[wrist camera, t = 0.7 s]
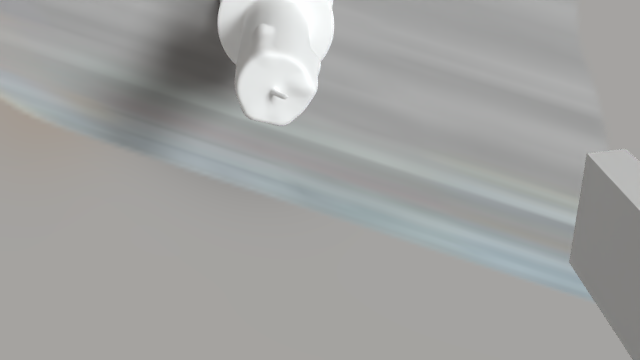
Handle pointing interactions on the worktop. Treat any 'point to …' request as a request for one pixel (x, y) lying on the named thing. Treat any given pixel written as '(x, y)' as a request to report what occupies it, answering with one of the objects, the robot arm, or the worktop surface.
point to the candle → (275, 53)
